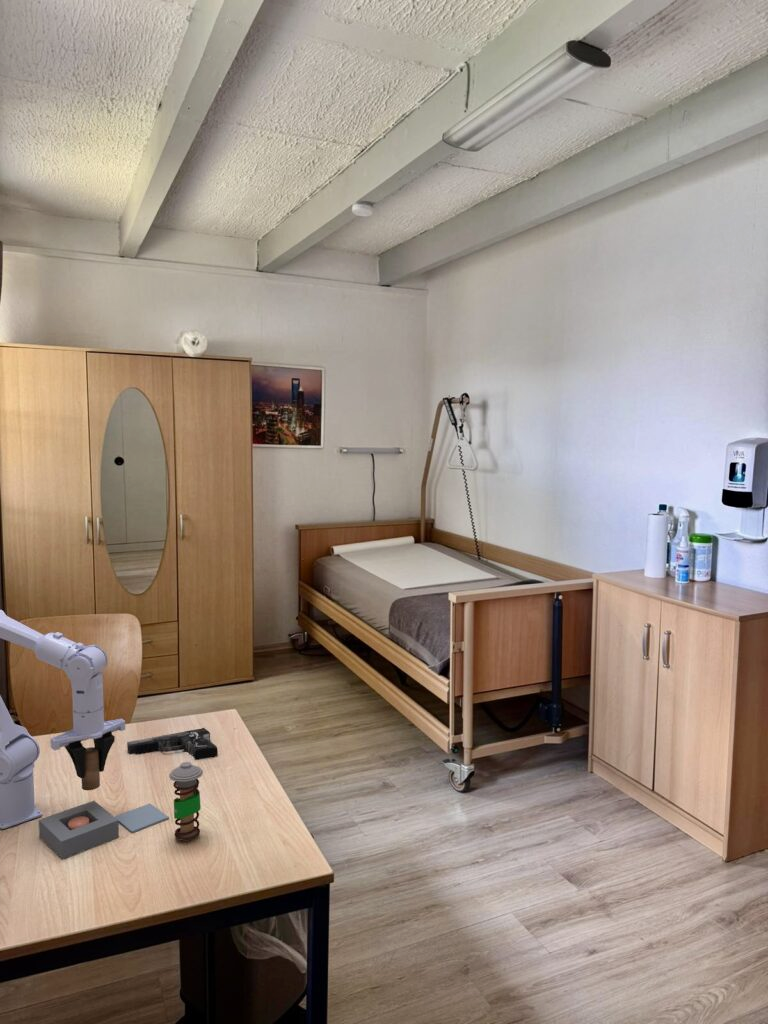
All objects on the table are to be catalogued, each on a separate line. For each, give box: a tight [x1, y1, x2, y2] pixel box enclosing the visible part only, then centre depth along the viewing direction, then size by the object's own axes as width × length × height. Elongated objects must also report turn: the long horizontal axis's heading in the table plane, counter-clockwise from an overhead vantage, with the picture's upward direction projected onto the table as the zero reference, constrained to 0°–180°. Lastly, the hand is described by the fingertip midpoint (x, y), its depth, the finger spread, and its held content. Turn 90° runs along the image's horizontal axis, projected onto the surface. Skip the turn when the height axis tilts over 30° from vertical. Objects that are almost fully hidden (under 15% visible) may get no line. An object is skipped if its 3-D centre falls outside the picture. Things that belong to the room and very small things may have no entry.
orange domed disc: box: [68, 816, 89, 830], centre depth 144 cm, size 4×4×1 cm
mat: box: [113, 803, 170, 834], centre depth 151 cm, size 8×8×1 cm
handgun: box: [126, 727, 219, 761], centre depth 183 cm, size 20×3×14 cm
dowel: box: [81, 746, 101, 791], centre depth 149 cm, size 3×3×8 cm
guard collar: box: [38, 800, 120, 860], centre depth 144 cm, size 11×11×4 cm
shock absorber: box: [168, 761, 204, 842], centre depth 143 cm, size 6×6×15 cm
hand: (90, 773), depth 149 cm, fingers closed on dowel, 3 cm apart
